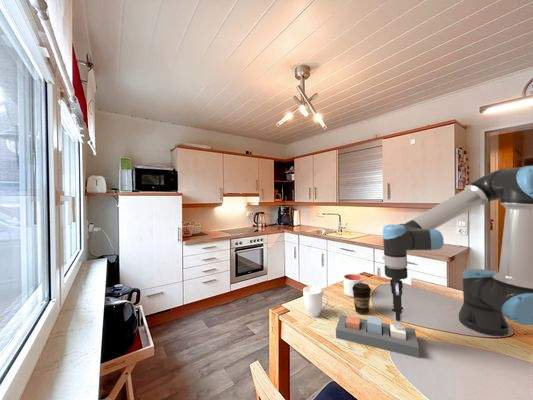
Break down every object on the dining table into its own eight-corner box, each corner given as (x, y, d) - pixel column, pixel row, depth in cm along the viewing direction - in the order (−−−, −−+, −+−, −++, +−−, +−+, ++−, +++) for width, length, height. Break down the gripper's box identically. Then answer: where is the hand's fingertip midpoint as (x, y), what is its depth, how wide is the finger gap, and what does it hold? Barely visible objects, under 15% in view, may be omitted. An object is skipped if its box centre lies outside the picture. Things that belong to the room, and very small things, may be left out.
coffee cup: (374, 317, 104) (372, 289, 104) (354, 316, 106) (353, 288, 106) (369, 307, 113) (368, 282, 113) (351, 307, 115) (350, 281, 114)
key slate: (381, 330, 91) (381, 318, 91) (381, 337, 86) (381, 325, 86) (368, 327, 93) (367, 316, 93) (367, 334, 89) (367, 322, 89)
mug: (305, 319, 105) (304, 293, 105) (303, 310, 114) (301, 286, 114) (330, 318, 105) (329, 292, 105) (326, 309, 114) (325, 285, 114)
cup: (340, 292, 131) (339, 275, 131) (354, 289, 134) (354, 273, 134) (351, 300, 122) (351, 281, 122) (367, 296, 125) (366, 278, 125)
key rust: (360, 329, 95) (360, 318, 94) (359, 336, 90) (359, 324, 90) (348, 326, 97) (347, 315, 97) (346, 333, 92) (345, 321, 92)
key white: (405, 338, 87) (404, 326, 87) (406, 347, 83) (406, 334, 83) (390, 335, 89) (390, 323, 89) (390, 343, 85) (390, 330, 85)
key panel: (414, 337, 89) (414, 328, 89) (419, 357, 78) (419, 347, 78) (340, 322, 102) (340, 314, 101) (336, 337, 91) (335, 329, 91)
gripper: (384, 260, 93) (386, 316, 93) (384, 270, 81) (387, 334, 82) (405, 261, 90) (408, 320, 90) (409, 272, 78) (411, 340, 78)
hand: (398, 327), depth 86 cm, fingers closed
